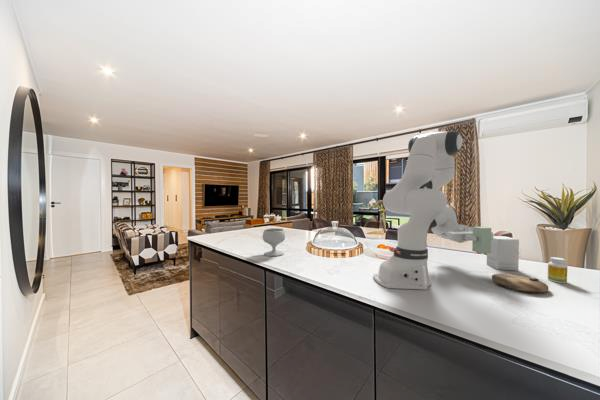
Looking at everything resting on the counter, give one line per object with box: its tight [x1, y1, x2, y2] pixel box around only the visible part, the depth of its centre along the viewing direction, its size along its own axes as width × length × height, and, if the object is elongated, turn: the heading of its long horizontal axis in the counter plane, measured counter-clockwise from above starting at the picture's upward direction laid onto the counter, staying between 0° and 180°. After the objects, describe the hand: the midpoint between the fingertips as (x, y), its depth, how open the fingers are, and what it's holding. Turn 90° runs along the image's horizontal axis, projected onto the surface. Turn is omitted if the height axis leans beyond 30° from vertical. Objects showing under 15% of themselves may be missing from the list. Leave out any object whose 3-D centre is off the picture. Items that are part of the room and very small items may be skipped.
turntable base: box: [498, 284, 541, 294], centre depth 89 cm, size 13×13×1 cm
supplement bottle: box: [547, 256, 568, 284], centre depth 94 cm, size 5×5×10 cm
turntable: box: [491, 273, 549, 293], centre depth 89 cm, size 16×16×2 cm
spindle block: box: [471, 226, 492, 255], centre depth 99 cm, size 4×4×11 cm
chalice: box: [262, 227, 286, 257], centre depth 138 cm, size 14×14×15 cm
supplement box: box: [486, 235, 520, 272], centre depth 111 cm, size 9×9×15 cm
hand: (483, 238), depth 98 cm, fingers closed on spindle block, 4 cm apart
